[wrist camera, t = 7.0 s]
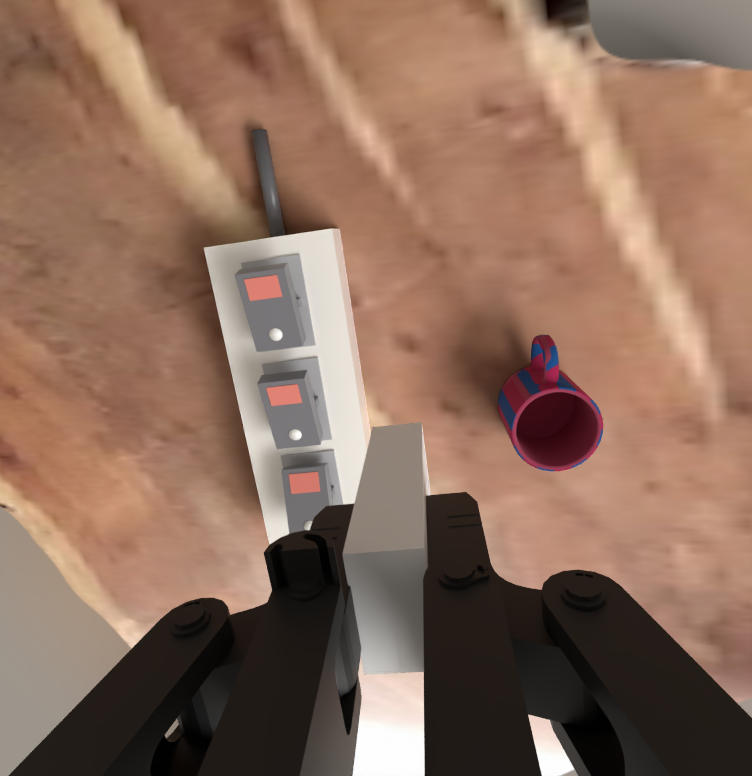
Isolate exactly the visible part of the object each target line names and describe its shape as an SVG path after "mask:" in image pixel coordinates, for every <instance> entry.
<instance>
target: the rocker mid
mask: <svg viewBox="0 0 752 776" xmlns="http://www.w3.org/2000/svg"><path fill="white" fill-rule="evenodd" d="M257 385H258V388H259V392H260V395H261V398H262V402H263V405H264V408H265V412H266V415H267V418H268V422H269V425H270V428H271V432H272V435H273V438H274V442H275V445H276V448H277V449H285V448H294V447H304V446H314V445H321V442H322V437H323V432H322V428H321V424H320V420H319V416H318V412H317V408H316V403H315V399H314V395H313V391H312V387H311V383H310V379H309V375H308V371H307V370H300V371H292V372H283V373H275V374H267V375H261V377H260V379H259V381H258V383H257Z"/></svg>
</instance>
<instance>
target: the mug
mask: <svg viewBox="0 0 752 776" xmlns="http://www.w3.org/2000/svg"><path fill="white" fill-rule="evenodd" d="M498 410H499V414H500V417H501V419H502V422H503V424H504V426H505V428H506V430H507V433H508V435H509V437H510V439H511V442H512V444H513V446H514V448H515V450H516V452H517V453H518V455H519V456H520V457H521V458H522V459H523V460H524V461H525V462H527V463H528V464H529V465H531V466H533V467H535V468H538V469H541V470H546V471H562V470H567V469H570V468H573V467H575V466H577V465H579V464H581V463H583V462H584V461H585V460H587V459H588V458H589V457H590V456H591V455H592V454H593V453H594V451H595V450H596V448H597V447H598V445H599V443H600V441H601V437H602V434H603V420H602V416H601V413H600V410H599V408H598V407H597V405H596V404H595V403H594V401H593V400H592V399H591V398H590V397H589V396H588V395H587V394H586V393H585V392H584V391H582V390H581V389H580V388H579V387H578V386H577V385H576V384H575V383H574V382H573V381H572V380H571V379H570V378H569V377H568V376H567V375H565V374H564V373H563V372H562V371H560V370H559V361H558V353H557V348H556V345H555V343H554V341H553V339H552V338H551V337H550V336H549V335H539V336H536V337H534V339H533V342H532V349H531V366H530V367H526V368H524V369H521V370H519V371H518V372H516V373H514V374H513V375H512V376H511V377H510V378H509V379H508V380H507V381H506V382H505V384H504V385H503V387H502V389H501V391H500V394H499V399H498Z"/></svg>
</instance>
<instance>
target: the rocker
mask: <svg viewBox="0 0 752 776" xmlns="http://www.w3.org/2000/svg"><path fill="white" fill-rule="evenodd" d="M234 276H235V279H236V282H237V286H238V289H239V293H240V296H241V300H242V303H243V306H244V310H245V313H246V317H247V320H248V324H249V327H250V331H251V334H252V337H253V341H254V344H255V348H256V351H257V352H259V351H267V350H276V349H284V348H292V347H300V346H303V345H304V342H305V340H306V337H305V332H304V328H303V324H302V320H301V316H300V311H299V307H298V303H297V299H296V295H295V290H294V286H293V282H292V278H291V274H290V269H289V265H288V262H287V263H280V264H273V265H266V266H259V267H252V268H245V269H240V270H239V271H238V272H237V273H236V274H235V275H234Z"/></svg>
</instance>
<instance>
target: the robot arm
mask: <svg viewBox="0 0 752 776" xmlns="http://www.w3.org/2000/svg"><path fill="white" fill-rule="evenodd" d="M264 556H265V560H266V565H267V569H268V573H269V578H270V582H271V587H272V592H271V595H270V597H269V600H268V602H267V603H265V604H263V605H261V606H258V607H255V608H252V609H249V610H246V611H242V612H239V613H235V614H232V615H230V613H229V609H228V607H227V605H226V604H225V603H224V602H223V601H222V600H219V599H215V598H200V599H196V600H191V601H189V602H186V603H184V604H182V605H180V606H178V607H176V608H174V609H172V610H171V611H170V612H169V613H167V614H166V615H165V616H164V617H163V618H161V619H160V620H159V621H158V622H157V623H156V624H155V626H154V627H153V628H152V629H151V630H150V631H149V632H148V633H147V634H146V635H145V636H144V637H143V638H142V639H141V640H140V641H139V642H138V643H137V644H136V645H135V646H134V647H133V648H132V649H131V650H130V651H129V652H128V653H127V654H126V655H125V656H124V657H123V658H122V659H121V660H120V662H119V663H118V664H117V665H116V666H115V667H114V668H113V669H112V670H111V671H110V672H109V673H108V674H107V675H106V676H105V677H104V678H103V679H102V680H101V681H100V682H99V683H98V684H97V685H96V686H95V687H94V688H93V689H92V690H91V691H90V693H88V695H87V696H86V697H85V698H84V699H83V700H82V701H81V702H80V703H79V704H78V705H77V706H76V707H75V708H74V709H73V710H72V711H71V712H70V713H69V714H68V715H67V716H66V717H65V718H64V719H63V720H62V721H61V722H60V723H59V724H58V725H57V726H56V727H55V728H54V729H53V731H51V733H50V734H49V735H48V736H47V737H46V738H45V739H44V740H43V741H42V742H41V743H40V744H39V745H38V746H37V747H36V748H35V749H34V750H33V751H32V752H31V753H30V754H29V755H28V756H27V757H26V758H25V759H24V760H23V761H22V763H20V764H19V765H18V767H17V768H16V769H15V770H14V771H13V772H12V773H11V774H10V775H9V776H352V774H353V765H354V757H355V748H356V740H357V732H358V723H359V715H360V706H361V689H360V683H359V677H358V670H359V662H360V655H361V661H362V666H363V672H364V675H366V674H385V673H405V672H424V738H425V776H542V775H541V771H540V766H539V762H538V757H537V753H536V749H535V744H534V740H533V735H532V731H531V726H530V722H529V717H528V714H529V715H533V716H537V717H541V718H545V719H549V720H550V722H551V725H552V728H553V731H554V732H555V734H556V736H557V738H558V740H559V741H560V743H561V745H562V747H563V749H564V750H565V752H566V754H567V756H568V758H569V760H570V761H571V763H572V765H573V767H574V769H575V770H576V772H577V774H578V776H752V718H751V717H750V716H749V715H748V714H747V713H746V712H745V711H744V710H743V709H742V708H741V707H740V706H739V705H738V704H737V703H736V702H735V701H734V700H733V699H732V698H731V697H730V696H729V695H728V694H727V693H726V692H725V691H724V690H723V689H722V688H721V687H720V686H719V685H718V684H717V683H716V682H715V681H714V680H713V678H712V677H711V676H710V675H709V674H708V673H707V672H706V671H705V670H704V669H703V668H702V667H701V666H700V665H699V664H698V663H697V662H696V661H695V660H694V659H693V658H692V657H691V656H690V655H689V654H688V653H687V652H686V651H685V650H684V649H683V648H682V647H681V646H680V645H679V644H678V643H677V642H676V641H675V640H674V639H673V638H672V637H671V636H670V635H669V634H668V633H667V632H666V631H665V630H664V629H663V628H662V627H661V626H660V625H659V624H658V623H657V622H656V621H655V620H654V619H653V618H652V617H651V616H650V615H649V614H648V613H647V612H646V611H645V610H644V609H643V608H642V607H641V606H640V605H639V604H638V603H637V602H636V601H635V600H634V599H633V598H632V597H631V596H630V595H629V594H628V593H627V592H626V591H625V590H624V589H623V588H622V587H621V586H620V585H619V584H617V583H616V582H615V581H613V580H612V579H610V578H609V577H606V576H604V575H601V574H598V573H596V572H591V571H584V570H570V571H562V572H560V573H557V574H555V575H552V576H551V577H550V578H549V579H548V580H546V581H545V582H544V583H543V587H542V590H538V589H532V588H526V587H522V586H518V585H515V584H512V583H510V582H508V581H506V580H504V579H503V578H501V577H500V576H498V574H497V573H496V572H495V571H494V569H493V567H492V565H491V563H490V558H489V554H488V549H487V545H486V540H485V536H484V531H483V527H482V522H481V517H480V513H479V508H478V504H477V501H476V500H475V499H473V498H472V497H471V496H470V495H469V494H468V493H467V492H461V493H450V494H439V495H431V493H430V485H429V477H428V469H427V460H426V452H425V444H424V436H423V428H422V422H419V423H409V424H400V425H390V426H381V427H373V428H372V432H371V436H370V440H369V444H368V449H367V453H366V457H365V461H364V465H363V470H362V474H361V478H360V482H359V487H358V491H357V495H356V499H355V503H354V504H343V505H331V506H326V507H324V508H323V509H322V510H321V511H320V512H319V513H318V514H317V515H316V516H315V517H314V519H313V522H312V525H311V527H310V530H304V531H299V532H293V533H290V534H288V535H285V536H283V537H280V538H279V539H277V540H276V541H274V542H273V543H271V544H270V545H269V546H268V548H267V549H266V550H265V552H264ZM176 719H177V720H178V723H179V725H178V726H177V728H176V729H175V730H174V732H173V733H172V734H171V735H170V736H169V737H168V738H167V739H166V738H165V733H166V732H167V731H168V729H169V728H170V727H171V725H172V724H173V723H174V721H175V720H176Z"/></svg>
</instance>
